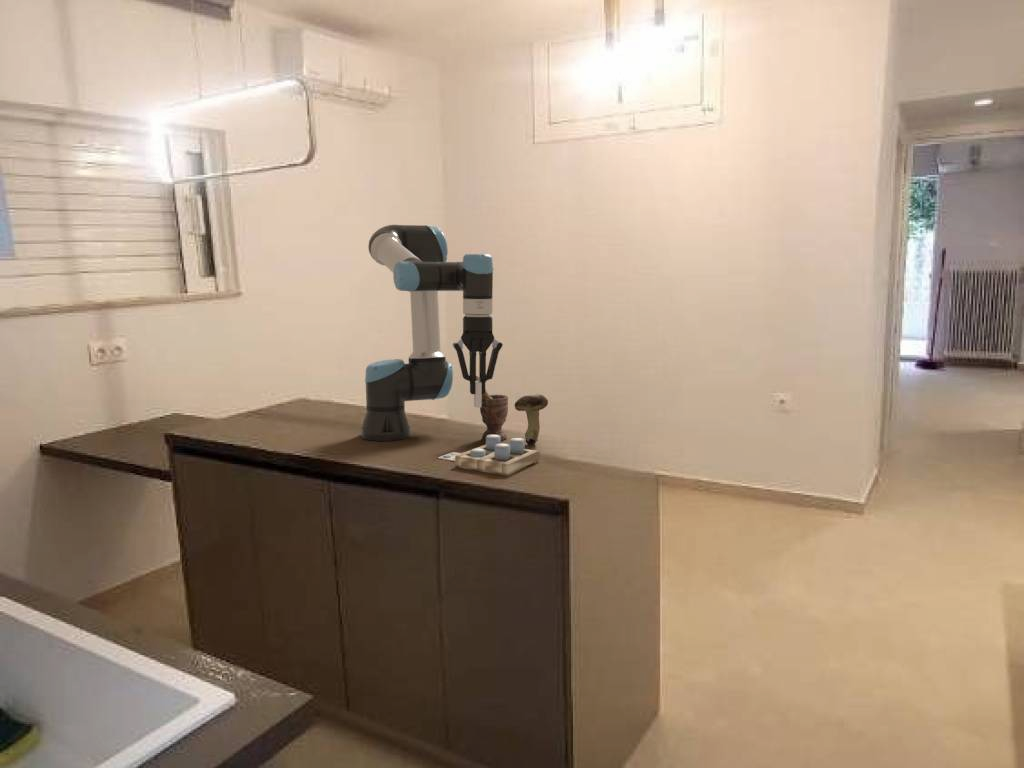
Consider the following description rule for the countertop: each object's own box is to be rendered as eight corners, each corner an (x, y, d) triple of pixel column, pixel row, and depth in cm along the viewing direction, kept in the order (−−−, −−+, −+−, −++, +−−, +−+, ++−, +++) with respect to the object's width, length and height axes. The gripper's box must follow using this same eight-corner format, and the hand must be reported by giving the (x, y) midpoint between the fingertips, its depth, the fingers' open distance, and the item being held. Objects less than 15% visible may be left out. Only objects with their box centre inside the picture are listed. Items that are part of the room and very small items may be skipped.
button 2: (483, 449, 194) (483, 436, 193) (490, 446, 197) (490, 433, 196) (495, 451, 192) (495, 438, 191) (503, 448, 195) (503, 435, 194)
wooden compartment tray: (455, 466, 187) (455, 455, 186) (488, 453, 200) (488, 443, 200) (507, 476, 179) (507, 464, 178) (538, 461, 192) (538, 450, 192)
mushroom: (553, 444, 212) (554, 394, 209) (534, 450, 205) (535, 398, 203) (529, 439, 218) (529, 391, 215) (510, 444, 211) (510, 394, 209)
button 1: (467, 464, 188) (467, 450, 187) (475, 460, 191) (475, 447, 190) (480, 466, 186) (480, 452, 185) (488, 463, 189) (488, 449, 188)
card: (437, 458, 195) (437, 457, 195) (452, 453, 201) (452, 451, 201) (459, 462, 192) (459, 460, 192) (473, 456, 198) (473, 455, 198)
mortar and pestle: (486, 445, 211) (486, 378, 208) (466, 440, 216) (466, 375, 213) (513, 438, 219) (513, 374, 216) (493, 434, 225) (493, 371, 222)
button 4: (506, 453, 190) (506, 439, 189) (514, 450, 193) (514, 437, 193) (519, 455, 188) (519, 441, 187) (527, 452, 191) (527, 438, 191)
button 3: (491, 459, 183) (491, 445, 183) (499, 456, 187) (499, 442, 186) (504, 461, 181) (504, 447, 181) (512, 458, 185) (512, 444, 184)
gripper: (454, 316, 177) (455, 410, 181) (506, 316, 180) (505, 408, 184) (450, 314, 184) (450, 404, 188) (499, 314, 187) (498, 402, 191)
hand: (477, 406), depth 186 cm, fingers closed
